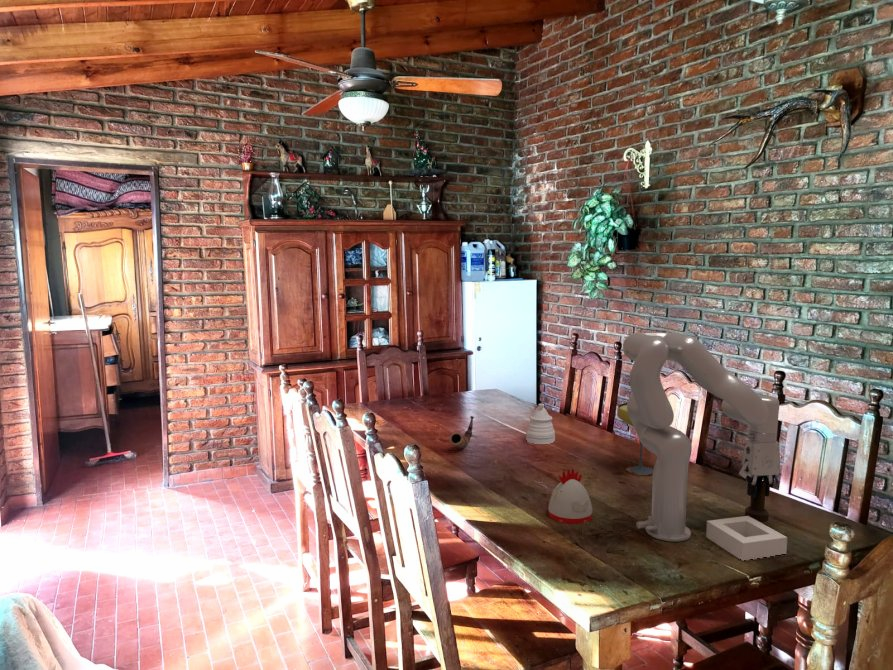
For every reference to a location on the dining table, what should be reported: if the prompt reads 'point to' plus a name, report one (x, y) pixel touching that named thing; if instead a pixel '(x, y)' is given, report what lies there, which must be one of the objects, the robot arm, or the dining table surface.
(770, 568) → the dining table surface
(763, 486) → the pepper mill
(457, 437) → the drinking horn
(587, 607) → the dining table surface
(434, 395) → the dining table surface
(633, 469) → the cocktail glass
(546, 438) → the honey pot
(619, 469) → the dining table surface
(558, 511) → the kitchen timer
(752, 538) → the socket
